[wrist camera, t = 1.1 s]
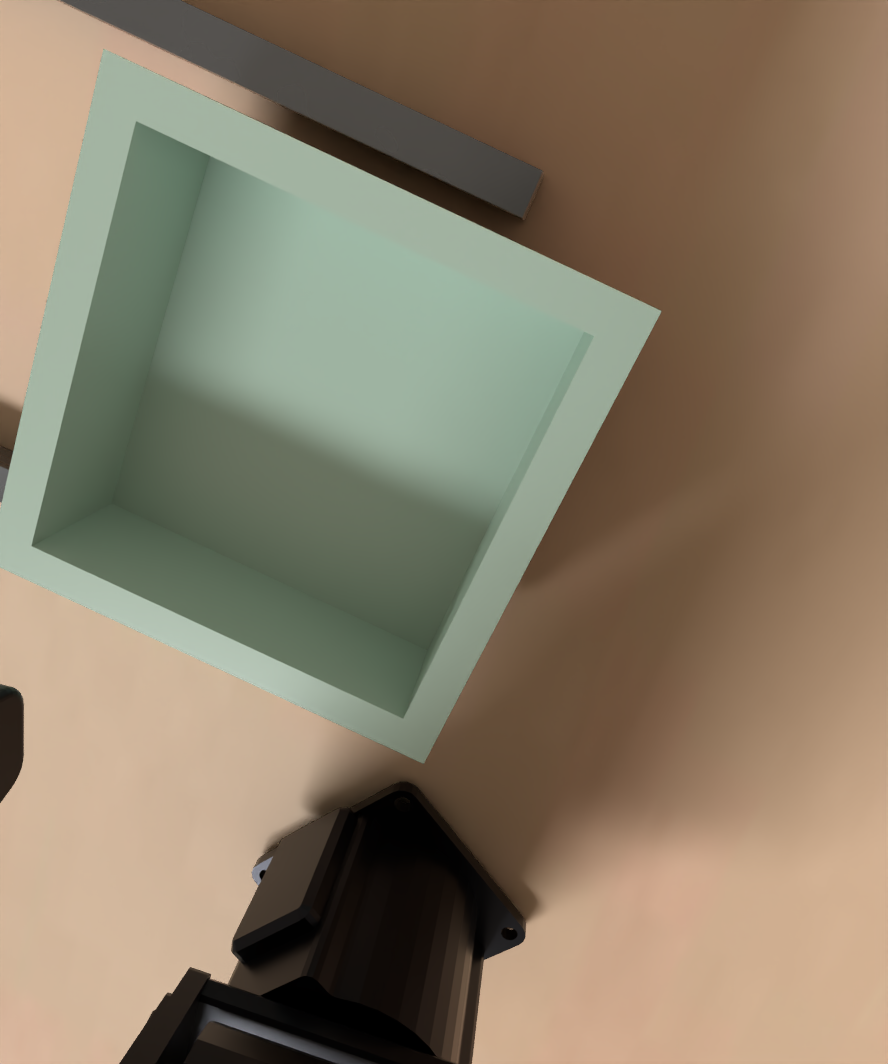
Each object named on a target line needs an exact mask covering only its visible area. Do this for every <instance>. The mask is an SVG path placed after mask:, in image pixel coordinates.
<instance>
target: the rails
mask: <svg viewBox="0 0 888 1064" xmlns="http://www.w3.org/2000/svg"><path fill="white" fill-rule="evenodd" d="M58 1H60V2H62V3H64V4H66V5H68V6H70V7H72V8H75V9H77V10H79V11H81V12H83V13H85V14H87V15H89V16H92V17H94V18H96V19H98V20H100V21H102V22H104V23H106V24H109V25H111V26H113V27H115V28H117V29H119V30H121V31H123V32H126V33H128V34H130V35H132V36H134V37H136V38H138V39H140V40H143V41H145V42H147V43H149V44H151V45H153V46H155V47H157V48H160V49H162V50H164V51H166V52H168V53H170V54H172V55H174V56H177V57H179V58H181V59H183V60H185V61H187V62H189V63H191V64H194V65H196V66H198V67H200V68H202V69H204V70H206V71H208V72H211V73H213V74H215V75H217V76H219V77H221V78H223V79H226V80H228V81H230V82H232V83H234V84H236V85H238V86H240V87H243V88H245V89H247V90H249V91H251V92H253V93H255V94H257V95H260V96H262V97H264V98H266V99H268V100H270V101H272V102H274V103H277V104H279V105H281V106H283V107H285V108H287V109H289V110H291V111H294V112H296V113H298V114H300V115H302V116H304V117H306V118H308V119H311V120H313V121H315V122H317V123H319V124H321V125H323V126H325V127H328V128H330V129H332V130H334V131H336V132H338V133H340V134H342V135H345V136H347V137H349V138H351V139H353V140H355V141H357V142H359V143H362V144H364V145H366V146H368V147H370V148H372V149H374V150H376V151H379V152H381V153H383V154H385V155H387V156H389V157H391V158H393V159H396V160H398V161H400V162H402V163H404V164H406V165H408V166H410V167H413V168H415V169H417V170H419V171H421V172H423V173H425V174H427V175H430V176H432V177H434V178H436V179H438V180H440V181H442V182H444V183H447V184H449V185H451V186H453V187H455V188H457V189H459V190H461V191H464V192H466V193H468V194H470V195H472V196H474V197H476V198H478V199H481V200H483V201H485V202H487V203H489V204H491V205H493V206H495V207H498V208H500V209H502V210H504V211H506V212H508V213H510V214H512V215H515V216H517V217H519V218H521V219H523V220H525V218H526V216H527V213H528V211H529V209H530V206H531V204H532V202H533V200H534V197H535V195H536V193H537V191H538V188H539V186H540V184H541V181H542V179H543V177H544V174H543V171H542V170H540V169H538V168H536V167H533V166H531V165H529V164H527V163H525V162H523V161H521V160H519V159H516V158H514V157H512V156H510V155H508V154H506V153H504V152H502V151H499V150H497V149H495V148H493V147H491V146H489V145H487V144H485V143H483V142H480V141H478V140H476V139H474V138H472V137H470V136H468V135H466V134H463V133H461V132H459V131H457V130H455V129H453V128H451V127H449V126H446V125H444V124H442V123H440V122H438V121H436V120H434V119H432V118H429V117H427V116H425V115H423V114H421V113H419V112H417V111H415V110H412V109H410V108H408V107H406V106H404V105H402V104H400V103H398V102H395V101H393V100H391V99H389V98H387V97H385V96H383V95H381V94H378V93H376V92H374V91H372V90H370V89H368V88H366V87H364V86H361V85H359V84H357V83H355V82H353V81H351V80H349V79H347V78H345V77H342V76H340V75H338V74H336V73H334V72H332V71H330V70H328V69H325V68H323V67H321V66H319V65H317V64H315V63H313V62H311V61H308V60H306V59H304V58H302V57H300V56H298V55H296V54H294V53H291V52H289V51H287V50H285V49H283V48H281V47H279V46H277V45H274V44H272V43H270V42H268V41H266V40H264V39H262V38H260V37H257V36H255V35H253V34H251V33H249V32H247V31H245V30H243V29H240V28H238V27H236V26H234V25H232V24H230V23H228V22H226V21H224V20H221V19H219V18H217V17H215V16H213V15H211V14H209V13H207V12H204V11H202V10H200V9H198V8H196V7H194V6H192V5H190V4H187V3H185V2H183V1H181V0H58ZM12 455H13V452H12V451H10V450H8V449H6V448H4V447H2V446H0V502H2V499H3V495H4V490H5V486H6V482H7V477H8V473H9V468H10V464H11V459H12Z"/></svg>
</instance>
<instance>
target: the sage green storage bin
mask: <svg viewBox="0 0 888 1064" xmlns="http://www.w3.org/2000/svg"><path fill="white" fill-rule="evenodd" d="M660 313H661V311H660V310H658V309H656V308H654V307H652V306H650V305H648V304H646V303H644V302H642V301H640V300H638V299H636V298H634V297H632V296H629V295H627V294H625V293H623V292H621V291H619V290H617V289H614V288H612V287H610V286H608V285H606V284H604V283H602V282H600V281H597V280H595V279H593V278H591V277H589V276H587V275H585V274H583V273H580V272H578V271H576V270H574V269H572V268H570V267H568V266H566V265H563V264H561V263H559V262H557V261H555V260H553V259H551V258H549V257H546V256H544V255H542V254H540V253H538V252H536V251H534V250H532V249H529V248H527V247H525V246H523V245H521V244H519V243H517V242H515V241H512V240H510V239H508V238H506V237H504V236H502V235H500V234H498V233H495V232H493V231H491V230H489V229H487V228H485V227H483V226H480V225H478V224H476V223H474V222H472V221H470V220H468V219H466V218H463V217H461V216H459V215H457V214H455V213H453V212H451V211H449V210H446V209H444V208H442V207H440V206H438V205H436V204H434V203H432V202H429V201H427V200H425V199H423V198H421V197H419V196H417V195H415V194H412V193H410V192H408V191H406V190H404V189H402V188H400V187H398V186H395V185H393V184H391V183H389V182H387V181H385V180H383V179H381V178H378V177H376V176H374V175H372V174H370V173H368V172H366V171H364V170H361V169H359V168H357V167H355V166H353V165H351V164H349V163H346V162H344V161H342V160H340V159H338V158H336V157H334V156H332V155H329V154H327V153H325V152H323V151H321V150H319V149H317V148H315V147H312V146H310V145H308V144H306V143H304V142H302V141H300V140H298V139H295V138H293V137H291V136H289V135H287V134H285V133H283V132H281V131H278V130H276V129H274V128H272V127H270V126H268V125H266V124H264V123H261V122H259V121H257V120H255V119H253V118H251V117H249V116H247V115H244V114H242V113H240V112H238V111H236V110H234V109H232V108H230V107H227V106H225V105H223V104H221V103H219V102H217V101H215V100H212V99H210V98H208V97H206V96H204V95H202V94H200V93H197V92H195V91H193V90H191V89H189V88H187V87H185V86H182V85H180V84H178V83H176V82H174V81H172V80H170V79H167V78H165V77H163V76H161V75H159V74H157V73H154V72H152V71H150V70H148V69H146V68H144V67H142V66H139V65H137V64H135V63H133V62H131V61H129V60H127V59H124V58H122V57H120V56H118V55H116V54H114V53H112V52H109V51H107V50H105V49H103V54H102V58H101V63H100V67H99V72H98V76H97V80H96V85H95V89H94V94H93V98H92V103H91V107H90V112H89V116H88V121H87V125H86V130H85V134H84V138H83V143H82V147H81V152H80V156H79V161H78V165H77V170H76V174H75V179H74V183H73V187H72V192H71V196H70V201H69V205H68V210H67V214H66V219H65V223H64V228H63V232H62V236H61V241H60V245H59V250H58V254H57V259H56V263H55V268H54V272H53V277H52V281H51V285H50V290H49V294H48V299H47V303H46V308H45V312H44V317H43V321H42V326H41V330H40V334H39V339H38V343H37V348H36V352H35V357H34V361H33V366H32V370H31V375H30V379H29V383H28V388H27V392H26V397H25V401H24V406H23V410H22V415H21V419H20V424H19V428H18V432H17V437H16V441H15V446H14V450H13V455H12V459H11V464H10V468H9V473H8V477H7V482H6V486H5V490H4V495H3V499H2V504H1V508H0V568H2V569H4V570H7V571H9V572H11V573H13V574H15V575H17V576H20V577H22V578H24V579H26V580H28V581H30V582H32V583H35V584H37V585H39V586H41V587H43V588H45V589H48V590H50V591H52V592H54V593H56V594H58V595H60V596H63V597H65V598H67V599H69V600H71V601H73V602H76V603H78V604H80V605H82V606H84V607H86V608H88V609H91V610H93V611H95V612H97V613H99V614H101V615H104V616H106V617H108V618H110V619H112V620H114V621H117V622H119V623H121V624H123V625H125V626H127V627H129V628H132V629H134V630H136V631H138V632H140V633H142V634H145V635H147V636H149V637H151V638H153V639H155V640H157V641H160V642H162V643H164V644H166V645H168V646H170V647H173V648H175V649H177V650H179V651H181V652H183V653H185V654H188V655H190V656H192V657H194V658H196V659H198V660H201V661H203V662H205V663H207V664H209V665H211V666H213V667H216V668H218V669H220V670H222V671H224V672H226V673H229V674H231V675H233V676H235V677H237V678H239V679H241V680H244V681H246V682H248V683H250V684H252V685H254V686H257V687H259V688H261V689H263V690H265V691H267V692H269V693H272V694H274V695H276V696H278V697H280V698H282V699H285V700H287V701H289V702H291V703H293V704H295V705H297V706H300V707H302V708H304V709H306V710H308V711H310V712H313V713H315V714H317V715H319V716H321V717H323V718H325V719H328V720H330V721H332V722H334V723H336V724H338V725H341V726H343V727H345V728H347V729H349V730H351V731H354V732H356V733H358V734H360V735H362V736H364V737H366V738H369V739H371V740H373V741H375V742H377V743H379V744H382V745H384V746H386V747H388V748H390V749H392V750H394V751H397V752H399V753H401V754H403V755H405V756H407V757H410V758H412V759H414V760H416V761H418V762H420V763H422V764H424V762H425V760H426V758H427V756H428V755H429V753H430V751H431V749H432V747H433V745H434V743H435V741H436V739H437V737H438V736H439V734H440V732H441V730H442V728H443V726H444V724H445V722H446V720H447V718H448V717H449V715H450V713H451V711H452V709H453V707H454V705H455V703H456V701H457V699H458V698H459V696H460V694H461V692H462V690H463V688H464V686H465V684H466V682H467V680H468V679H469V677H470V675H471V673H472V671H473V669H474V667H475V665H476V663H477V661H478V659H479V658H480V656H481V654H482V652H483V650H484V648H485V646H486V644H487V642H488V640H489V639H490V637H491V635H492V633H493V631H494V629H495V627H496V625H497V623H498V621H499V620H500V618H501V616H502V614H503V612H504V610H505V608H506V606H507V604H508V602H509V601H510V599H511V597H512V595H513V593H514V591H515V589H516V587H517V585H518V583H519V582H520V580H521V578H522V576H523V574H524V572H525V570H526V568H527V566H528V564H529V562H530V561H531V559H532V557H533V555H534V553H535V551H536V549H537V547H538V545H539V543H540V542H541V540H542V538H543V536H544V534H545V532H546V530H547V528H548V526H549V524H550V523H551V521H552V519H553V517H554V515H555V513H556V511H557V509H558V507H559V505H560V504H561V502H562V500H563V498H564V496H565V494H566V492H567V490H568V488H569V486H570V484H571V483H572V481H573V479H574V477H575V475H576V473H577V471H578V469H579V467H580V465H581V464H582V462H583V460H584V458H585V456H586V454H587V452H588V450H589V448H590V446H591V445H592V443H593V441H594V439H595V437H596V435H597V433H598V431H599V429H600V427H601V426H602V424H603V422H604V420H605V418H606V416H607V414H608V412H609V410H610V408H611V407H612V405H613V403H614V401H615V399H616V397H617V395H618V393H619V391H620V389H621V387H622V386H623V384H624V382H625V380H626V378H627V376H628V374H629V372H630V370H631V368H632V367H633V365H634V363H635V361H636V359H637V357H638V355H639V353H640V351H641V349H642V348H643V346H644V344H645V342H646V340H647V338H648V336H649V334H650V332H651V330H652V329H653V327H654V325H655V323H656V321H657V319H658V317H659V315H660Z"/></svg>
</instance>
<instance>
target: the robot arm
mask: <svg viewBox="0 0 888 1064" xmlns="http://www.w3.org/2000/svg"><path fill="white" fill-rule="evenodd" d="M23 756H24V703H23V698H22V695H21V693H20V692H19V691H18V690H17V689H15V688H13V687H10V686H6V685H2V684H0V803H1V801H2V800H3V799H4V797H5V796H6V794H7V793H8V792H9V790H10V789H11V788H12V786H13V785H14V783H15V781H16V779H17V777H18V775H19V773H20V770H21V768H22V763H23ZM400 797H403V798H407V799H408V800H409V801H410V802H408V803H404V802H401V801H400V800H399V799H398V798H400ZM252 876H253V879H254V881H255V882H256V883H257V884H258V888H257V890H256V892H255V895H254V897H253V899H252V901H251V903H250V905H249V907H248V909H247V911H246V913H245V915H244V917H243V919H242V921H241V923H240V925H239V927H238V929H237V931H236V933H235V935H234V937H233V940H232V948H231V951H232V953H233V954H234V955H235V956H236V957H237V958H238V959H239V961H238V963H237V965H236V968H235V970H234V972H233V974H232V976H231V978H230V980H229V983H228V985H227V984H225V983H222V982H219V981H216V980H213V979H210V977H211V974H209V973H206V972H203V971H200V970H197V969H194V968H191V967H190V968H189V969H188V971H187V972H186V974H185V975H184V977H183V978H182V980H181V981H180V983H179V984H178V986H177V987H176V989H175V990H174V992H173V993H172V994H171V993H167V994H166V995H165V997H164V998H163V1000H162V1001H161V1003H160V1004H159V1006H158V1007H157V1009H156V1010H154V1011H153V1012H152V1014H151V1016H150V1018H149V1019H148V1021H147V1023H146V1025H145V1026H144V1028H143V1029H142V1031H141V1032H140V1034H139V1035H138V1037H137V1038H136V1040H135V1041H134V1043H133V1044H132V1046H131V1047H130V1049H129V1050H128V1052H127V1053H126V1055H125V1056H124V1057H123V1059H122V1060H121V1062H120V1063H119V1064H472V1057H473V1048H474V1039H475V1031H476V1022H477V1013H478V1004H479V996H480V987H481V978H482V969H483V961H484V960H485V959H487V958H489V957H492V956H494V955H496V954H499V953H501V952H503V951H506V950H508V949H510V948H513V947H515V946H517V945H519V944H521V943H522V942H523V941H524V939H525V933H526V922H525V920H524V918H523V916H522V915H521V914H520V913H519V912H518V910H517V909H516V908H515V907H514V905H513V904H512V903H511V902H510V901H509V899H508V898H507V897H506V896H505V894H504V893H503V892H502V891H501V889H500V888H499V887H498V886H497V885H496V883H495V882H494V881H493V880H492V878H491V877H490V876H489V875H488V873H487V872H486V871H485V870H484V869H483V867H482V866H481V865H480V864H479V862H478V861H477V860H476V859H475V858H474V856H473V855H472V854H471V853H470V851H469V850H468V849H467V848H466V846H465V845H464V844H463V843H462V842H461V840H460V839H459V838H458V837H457V835H456V834H455V833H454V832H453V830H452V829H451V828H450V827H449V826H448V824H447V823H446V822H445V821H444V819H443V818H442V817H441V816H440V815H439V813H438V812H437V811H436V810H435V808H434V807H433V806H432V805H431V803H430V802H429V801H428V800H427V799H426V797H425V796H424V795H423V794H422V792H421V791H420V790H419V789H418V788H417V787H416V786H415V785H413V784H411V783H408V782H399V783H396V784H394V785H392V786H390V787H388V788H386V789H384V790H383V791H381V792H379V793H377V794H375V795H373V796H371V797H370V798H368V799H366V800H364V801H362V802H360V803H359V804H357V805H355V806H353V807H351V808H348V807H346V808H338V809H336V810H334V811H332V812H331V813H329V814H327V815H325V816H323V817H321V818H319V819H318V820H316V821H314V822H312V823H310V824H308V825H307V826H305V827H303V828H301V829H299V830H297V831H296V832H294V833H292V834H290V835H288V836H286V837H285V838H283V839H282V840H281V841H280V843H279V845H278V847H277V848H275V849H274V850H272V851H270V852H268V853H266V854H264V855H262V856H261V857H260V858H259V859H258V860H257V862H256V864H255V866H254V868H253V871H252ZM507 927H510V928H513V930H509V929H506V928H507Z"/></svg>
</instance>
